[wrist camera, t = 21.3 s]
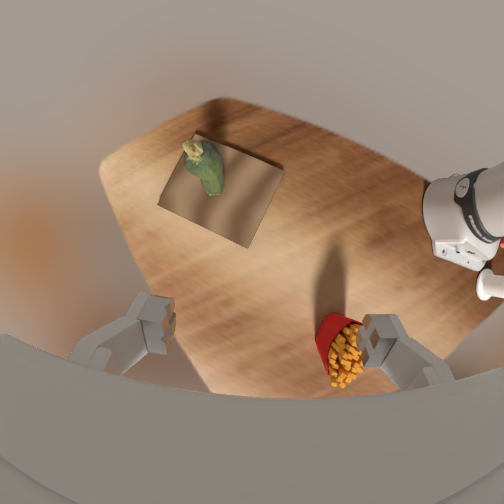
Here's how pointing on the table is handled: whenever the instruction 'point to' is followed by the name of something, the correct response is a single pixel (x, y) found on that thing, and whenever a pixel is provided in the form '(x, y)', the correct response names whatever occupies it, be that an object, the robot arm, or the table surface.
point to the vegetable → (205, 164)
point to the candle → (489, 285)
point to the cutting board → (225, 195)
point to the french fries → (339, 348)
